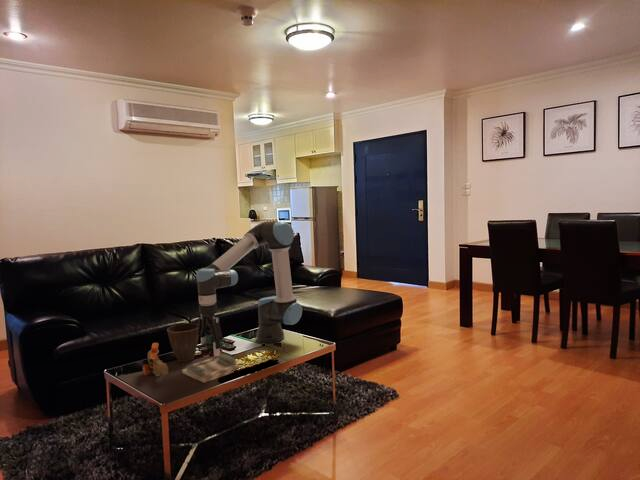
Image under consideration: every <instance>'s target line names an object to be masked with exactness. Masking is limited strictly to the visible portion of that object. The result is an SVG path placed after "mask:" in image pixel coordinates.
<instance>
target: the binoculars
mask: <svg viewBox="0 0 640 480" xmlns="http://www.w3.org/2000/svg"><path fill="white" fill-rule="evenodd" d="M206 334H207V335H206V343H205V344H203V345H200V346H197V349H198V352H200V353H201V356H205V357H206V356H209V357H208V358H214V357H215V356H214V348H213V341H214V339H213V336H212V333H211V330H210V328H209V329H208V328H207V332H206ZM205 345H206V346H207V348H208V349H206V350H202V349H201V348H202V347H205ZM222 353H223V342H222V340H221V341H220V354H222Z"/></svg>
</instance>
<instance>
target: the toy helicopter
mask: <svg viewBox="0 0 640 480" xmlns="http://www.w3.org/2000/svg"><path fill="white" fill-rule="evenodd" d="M159 351H160V350H159V343H158V342H153V343H152V345H151V349H150V350H148V352H147V362H148V363H146V364H143V365H142V372H143V375H144V376H149V375H150V374H151V372H152V374H154V376H155V377H156V378H157V377H160V376H166V375H169V367H168V365H167V363H166V362H163V360H161V359H160V358H159V356H158V355H159V353H160V352H159Z"/></svg>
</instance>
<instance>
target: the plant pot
mask: <svg viewBox="0 0 640 480" xmlns="http://www.w3.org/2000/svg"><path fill="white" fill-rule="evenodd" d="M166 332H167V335H168V336H167V337H168V339H169V344H170V346H171V349H172V352H173V353H174V356H175V358H176V359H177V362H179V363H187V362H190V361H193V360H194V358H195V356H196V351H197V349H198V342H199V337H200V335H198V334H197V332H198V323H192V322H191V323H181V324H176V325H171V326H170V327H168V328H166Z"/></svg>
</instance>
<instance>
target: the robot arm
mask: <svg viewBox="0 0 640 480" xmlns="http://www.w3.org/2000/svg"><path fill="white" fill-rule="evenodd" d="M294 238H295V232H294V229H293V227H292V225H290V224H289V223H288V222H286V221H285V222H284V221H263V222H260V223H258V224H257V225H255V226H254V227H252V228H251V229H249V230H248V231H246V233H244V235H243V238H241V239H240V240H239V241H238V242H236V244H234V245H233V246H232V247H230V248H229V249H228V250H227V251H226V252H224V253H223V254H222V255H221V256H219V257H218V258H217V259H216V260H214V262H212V263H211V264H209V265H208V266H207V267H203V268H200V269H198V270H197V272H196V275H195V279H196V281H197V292H198V299H197V300H198V304H199V305H198V311H199V314H197V319H198V320H197V324H198V332H197V334H198V335H199V337H200V344H201V345H203V344H205V343H206V335H207V334H208V333H207V330H208V328H209V329H210V330H211V334H212V336H213V339H214V341H213V348H214V356H213V357H218V356H220V355H221V353H220V341H221V342H222V341H223V333H222V332H223V331H222V328H221V323H220V321H221V320H220V317H216V312H217V311H218V310H217V309H218V305H217V292H216V291H217V289H222V288H227V287H230V288H231V286H232V287H233V286H235V285H236V284H237V283H238V281H239V275H238V272H237V271H236V270H234V269H231V268H232V267H234V266H235V265H236V264H237V263H238V262H240V261H241V260H242V258H244V257H245V256H246V255H247V254H249V253H250V252H251V251H253V250H255V249H258V248H259V247H261V246H262V245H267V249H268V250H269V252H271V259H272V266H273V267H272V268H273V276H274V283H275V284H274V285H275V291H276V292H275V293H276V294H275V295H276V296H275V295H273V296H267V297H262V298H260V299H258V301H257V313H258V329H257V334H256V335H255V336H256V337H255V338H256V342H258V343H259V342H260V343H264V344H265V343H267V344H268V343H271V344H272V343H277V342H280V341H283V340H284V339H285V333H284V331H283V327H282V325H281V324H283V325H292V326H293V325H295V324H297V323H299V321H300V319H301V318H302V314H303V307H302V305H301V304H300V303H299V302H298V301H297V297H296V296H295V295H294V293H293V285H292V284H293V281H292V275H291V266H290V254H289V250H290V249H291V244H292V243H293V241H294ZM201 345H200V346H201ZM206 349H208V350H209V348H207V346H206V345H205V347H202V348H200V350H206Z"/></svg>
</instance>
